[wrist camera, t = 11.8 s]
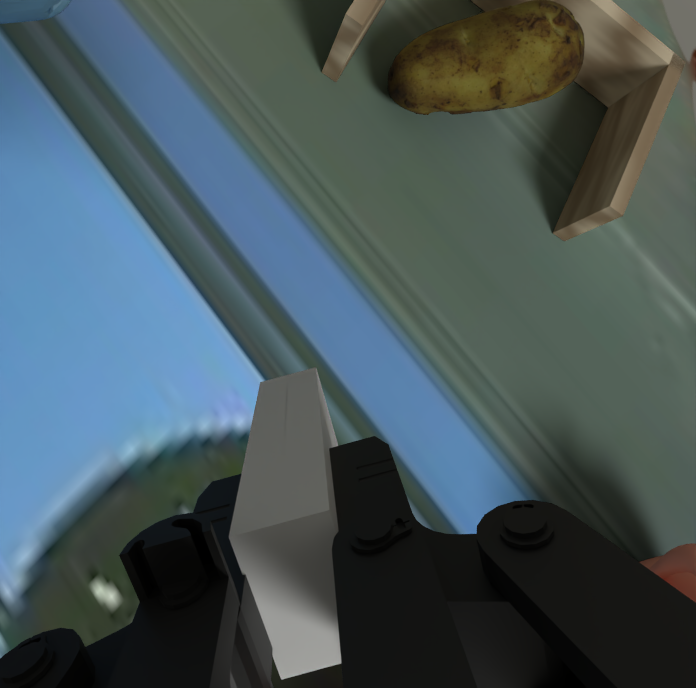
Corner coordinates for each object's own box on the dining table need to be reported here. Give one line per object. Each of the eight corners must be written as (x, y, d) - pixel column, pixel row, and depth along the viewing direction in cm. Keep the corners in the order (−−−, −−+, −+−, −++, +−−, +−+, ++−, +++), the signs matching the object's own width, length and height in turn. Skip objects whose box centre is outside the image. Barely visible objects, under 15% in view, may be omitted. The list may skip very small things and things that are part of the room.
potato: (384, 17, 40) (431, -74, 33) (533, 64, 44) (606, -8, 36) (374, 120, 39) (421, 51, 31) (528, 160, 43) (603, 107, 35)
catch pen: (321, 72, 38) (345, 13, 32) (406, -65, 42) (442, -140, 36) (564, 241, 43) (623, 215, 37) (623, 104, 46) (685, 62, 40)
